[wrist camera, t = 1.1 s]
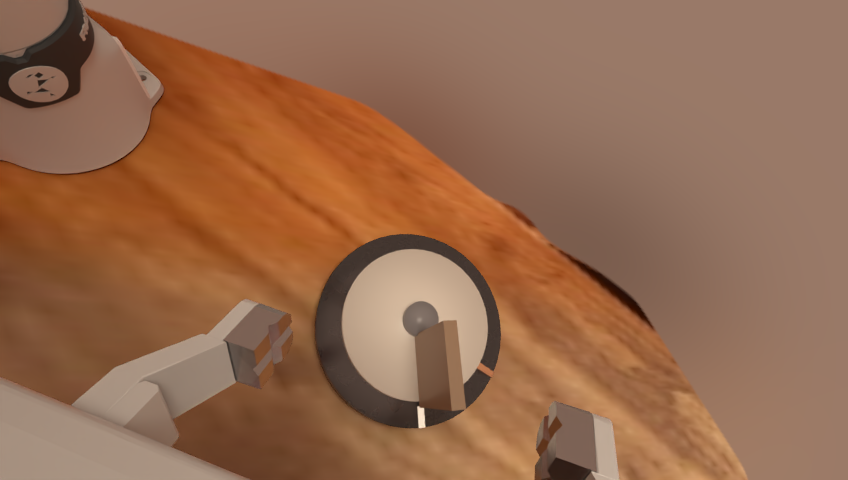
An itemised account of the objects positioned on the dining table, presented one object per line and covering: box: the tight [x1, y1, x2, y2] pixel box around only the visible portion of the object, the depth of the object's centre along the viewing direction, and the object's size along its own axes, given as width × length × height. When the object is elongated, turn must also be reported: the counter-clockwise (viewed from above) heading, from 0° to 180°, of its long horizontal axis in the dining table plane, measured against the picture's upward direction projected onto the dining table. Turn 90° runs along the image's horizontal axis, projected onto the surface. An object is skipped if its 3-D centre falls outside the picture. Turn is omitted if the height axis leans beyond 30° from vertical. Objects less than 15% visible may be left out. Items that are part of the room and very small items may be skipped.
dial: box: [341, 249, 488, 411], centre depth 38 cm, size 16×16×10 cm
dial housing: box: [315, 234, 501, 428], centre depth 44 cm, size 21×21×2 cm
